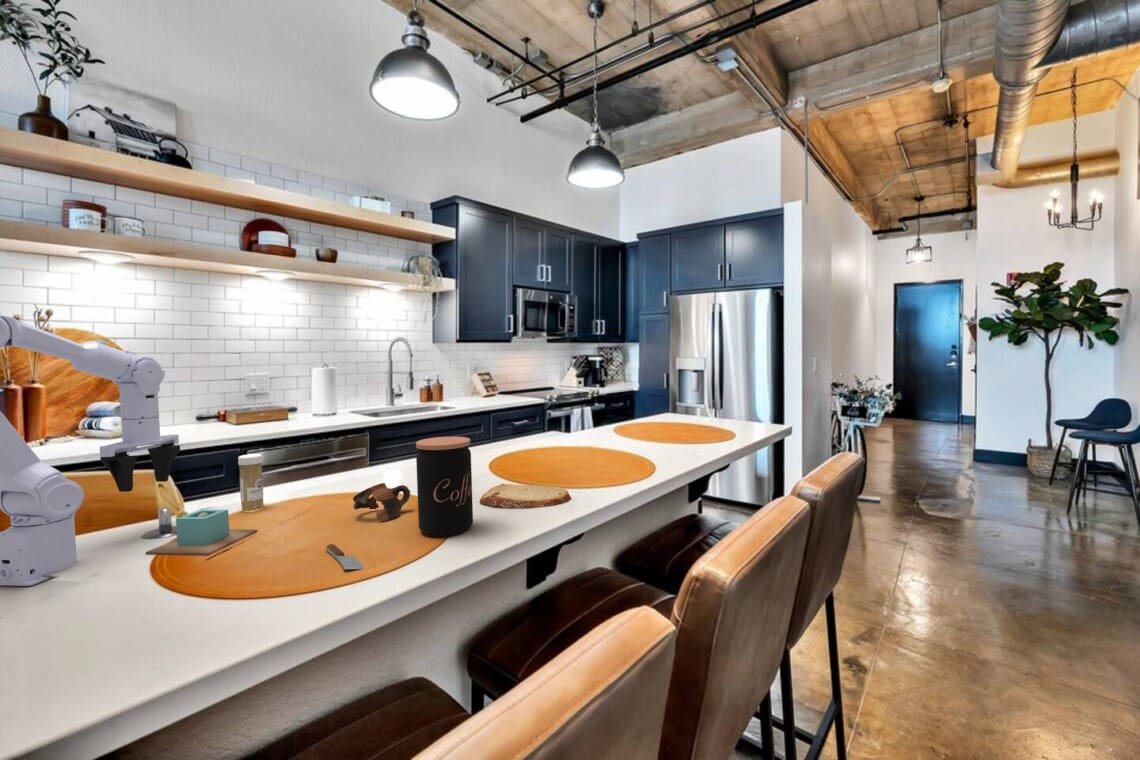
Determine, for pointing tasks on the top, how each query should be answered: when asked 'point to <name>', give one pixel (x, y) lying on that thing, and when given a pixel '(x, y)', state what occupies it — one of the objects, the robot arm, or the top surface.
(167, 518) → the round base with peg
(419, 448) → the coffee jar
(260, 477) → the sprinkles bottle
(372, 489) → the pottery mug
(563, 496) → the slice of bread
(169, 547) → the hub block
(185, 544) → the teal collar
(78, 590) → the top surface
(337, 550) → the cleaver
